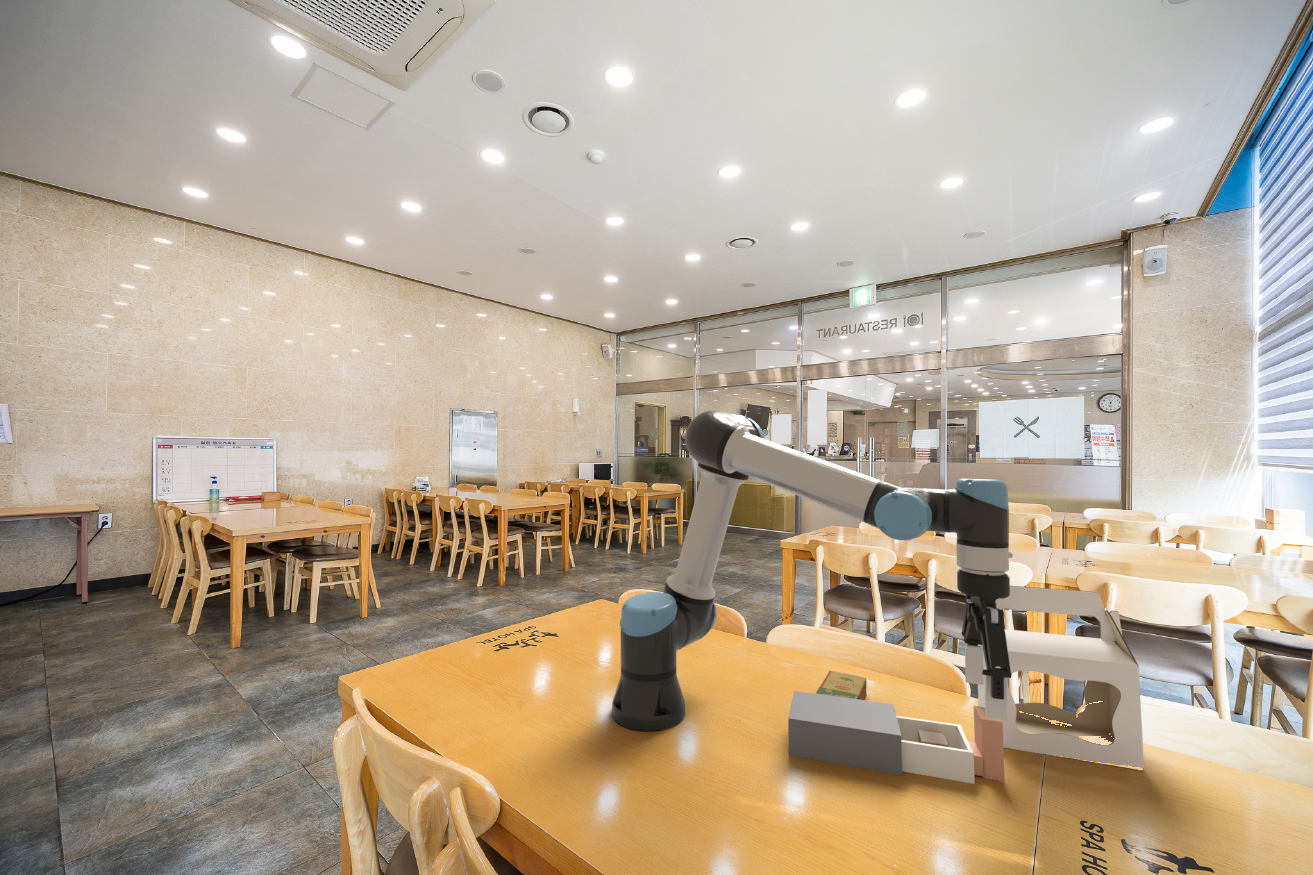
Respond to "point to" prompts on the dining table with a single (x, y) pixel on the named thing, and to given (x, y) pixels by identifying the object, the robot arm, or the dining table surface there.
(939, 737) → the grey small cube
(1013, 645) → the gable box
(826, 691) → the carton
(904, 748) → the tray
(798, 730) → the sleeve
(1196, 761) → the dining table surface
